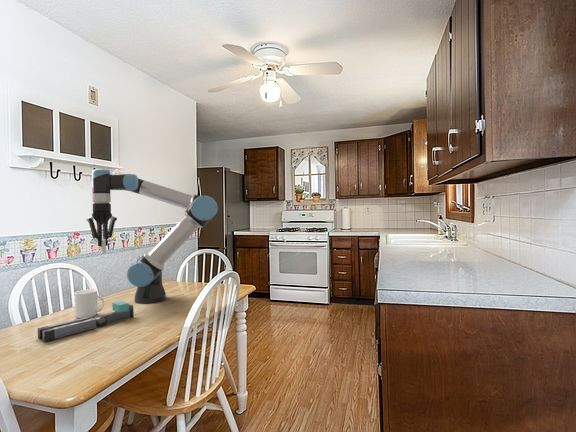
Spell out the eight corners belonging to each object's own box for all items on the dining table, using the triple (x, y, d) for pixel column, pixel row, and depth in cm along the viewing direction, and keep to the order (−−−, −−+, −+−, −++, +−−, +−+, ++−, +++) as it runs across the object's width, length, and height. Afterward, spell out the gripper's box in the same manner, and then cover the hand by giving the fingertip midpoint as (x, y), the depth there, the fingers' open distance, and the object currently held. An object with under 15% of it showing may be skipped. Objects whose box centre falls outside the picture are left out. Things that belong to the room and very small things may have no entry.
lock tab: (122, 307, 148) (121, 301, 148) (128, 310, 144) (128, 303, 144) (112, 310, 145) (112, 303, 145) (119, 312, 141) (119, 305, 141)
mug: (98, 318, 147) (98, 293, 147) (70, 318, 147) (70, 294, 146) (109, 312, 155) (108, 288, 155) (82, 312, 155) (82, 289, 155)
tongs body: (127, 315, 151) (127, 303, 150) (134, 317, 147) (134, 305, 147) (37, 337, 125) (37, 323, 125) (43, 341, 121) (43, 327, 121)
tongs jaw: (93, 326, 135) (93, 318, 135) (96, 328, 133) (95, 319, 133) (42, 340, 122) (42, 330, 122) (44, 341, 120) (44, 332, 120)
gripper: (112, 203, 167) (113, 251, 167) (83, 202, 157) (84, 254, 157) (119, 202, 162) (120, 252, 163) (90, 202, 152) (91, 255, 152)
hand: (102, 253), depth 160 cm, fingers closed
